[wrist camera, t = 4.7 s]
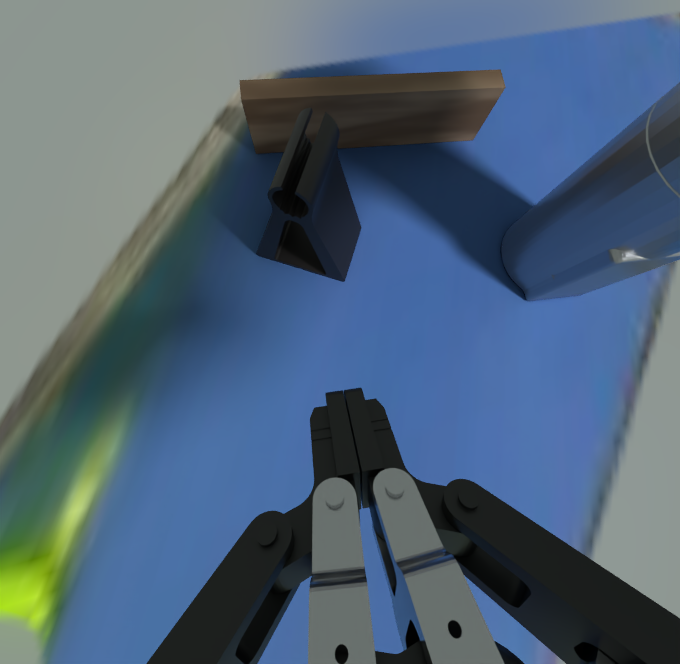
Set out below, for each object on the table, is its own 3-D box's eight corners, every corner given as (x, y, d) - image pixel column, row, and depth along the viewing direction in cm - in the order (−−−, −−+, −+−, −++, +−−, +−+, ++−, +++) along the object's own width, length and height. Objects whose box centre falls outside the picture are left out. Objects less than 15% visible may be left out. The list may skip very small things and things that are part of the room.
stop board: (472, 140, 34) (505, 87, 28) (255, 153, 31) (241, 99, 26) (469, 125, 34) (500, 69, 28) (254, 137, 32) (239, 80, 26)
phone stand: (361, 230, 31) (386, 131, 19) (344, 282, 29) (360, 212, 18) (277, 203, 31) (250, 87, 19) (256, 255, 29) (214, 166, 18)
